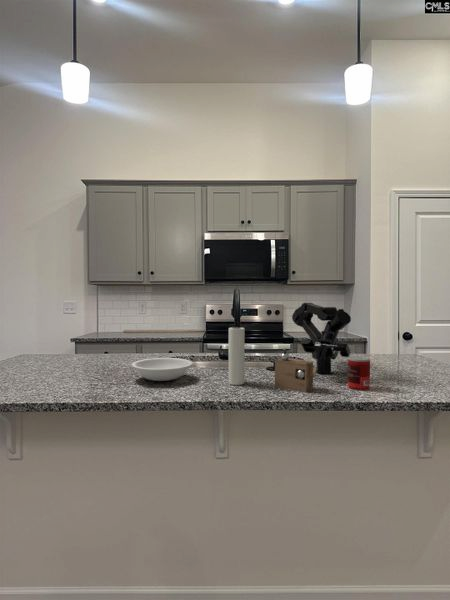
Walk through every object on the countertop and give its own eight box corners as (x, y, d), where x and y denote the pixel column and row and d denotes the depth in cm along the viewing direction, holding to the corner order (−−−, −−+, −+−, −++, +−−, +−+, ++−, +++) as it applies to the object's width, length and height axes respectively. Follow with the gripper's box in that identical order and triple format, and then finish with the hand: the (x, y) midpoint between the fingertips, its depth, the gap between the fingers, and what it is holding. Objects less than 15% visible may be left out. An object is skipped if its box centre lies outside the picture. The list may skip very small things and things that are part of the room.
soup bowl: (205, 379, 154) (205, 362, 154) (156, 390, 137) (156, 372, 136) (167, 370, 171) (167, 355, 170) (119, 379, 153) (119, 363, 153)
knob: (301, 377, 144) (301, 362, 143) (316, 379, 140) (316, 364, 140) (292, 381, 138) (292, 365, 138) (307, 383, 134) (307, 367, 134)
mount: (283, 383, 148) (283, 357, 147) (314, 388, 140) (314, 361, 140) (274, 387, 142) (275, 360, 142) (305, 392, 135) (306, 364, 134)
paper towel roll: (239, 386, 143) (239, 328, 142) (225, 384, 146) (225, 327, 146) (248, 382, 149) (248, 327, 149) (235, 380, 152) (235, 326, 152)
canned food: (369, 386, 144) (369, 356, 144) (370, 391, 137) (370, 360, 136) (347, 384, 147) (348, 355, 146) (347, 389, 139) (347, 359, 139)
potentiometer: (280, 359, 142) (280, 348, 142) (286, 359, 143) (286, 348, 143) (283, 360, 140) (283, 349, 140) (289, 360, 141) (289, 349, 141)
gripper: (357, 348, 157) (347, 380, 149) (314, 343, 169) (303, 373, 160) (351, 330, 151) (340, 363, 142) (306, 327, 162) (294, 357, 154)
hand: (318, 365), depth 150 cm, fingers closed
